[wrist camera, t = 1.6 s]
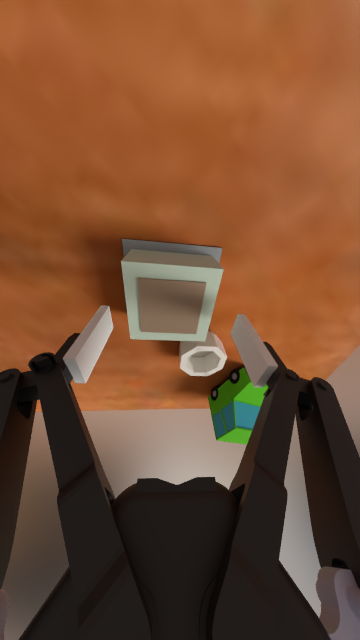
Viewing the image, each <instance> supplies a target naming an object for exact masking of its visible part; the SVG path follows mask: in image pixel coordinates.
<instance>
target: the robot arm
mask: <svg viewBox="0 0 360 640" xmlns="http://www.w3.org/2000/svg"><path fill="white" fill-rule="evenodd" d="M112 330H113V323H112V318H111V313H110V308H109V306H102V305H101V306H100V308H99V309H98V310H97V312H96V313H95V314H94V316H93V317H92V319H91V320H90V321H89V323H88V324H87V325H86V327H85V328H84V330H83V331H82V332H81V333H74V334H73V335H72V336H70V337H69V338H68V339H67V340H66V342H65V343H64V344H63V345H62V347H61V348H60V349H59V350H58V352H57V353H56V354H55V355H54V354H53V353H50V352H48V353H42V354H39V355H37V356H35V357H34V358H32V359H31V360H30V362H29V364H28V366H29V367H30V369H31V370H32V371H27V372H22V373H21V372H20V371H19V370H18V369H14V368H13V369H8V370H5V371H2V372H1V373H0V640H4V628H5V623H6V617H7V612H8V608H9V605H8V604H9V600H8V599H9V598H8V596H7V593H6V592H5V591H4V590H2V589H1V587H2V584H3V581H4V577H5V574H6V570H7V567H8V563H9V560H10V555H11V550H12V545H13V540H14V535H15V528H16V523H17V517H18V510H19V505H20V498H21V493H22V487H23V481H24V475H25V469H26V463H27V456H28V451H29V445H30V439H31V433H32V427H33V422H34V415H35V410H36V404H37V400H39V399H40V403H41V407H42V412H43V417H44V421H45V426H46V431H47V436H48V440H49V445H50V449H51V454H52V459H53V463H54V468H55V473H56V478H57V482H58V488H59V494H58V496H57V504H58V511H59V515H60V521H61V526H62V531H63V536H64V541H65V546H66V551H67V556H68V561H69V567H68V568H67V570H66V571H65V573H64V574H63V576H62V577H61V579H60V580H59V582H58V583H57V585H56V586H55V587H54V589H53V591H52V592H51V593H50V595H49V596H48V598H47V599H46V601H45V602H44V603H43V605H42V606H41V608H40V609H39V611H38V612H37V614H36V615H35V617H34V618H33V619H32V621H31V622H30V624H29V625H28V627H27V628H26V630H25V631H24V633H23V634H22V635H21V637H20V638H19V640H360V457H359V455H358V452H357V449H356V447H355V444H354V441H353V439H352V437H351V434H350V431H349V429H348V426H347V423H346V420H345V418H344V415H343V413H342V410H341V407H340V405H339V402H338V400H337V397H336V394H335V392H334V389H333V388H332V386H331V385H330V384H329V383H328V382H326V381H325V380H323V379H321V378H317V377H314V378H313V379H312V380H311V381H310V380H306V379H303V378H300V377H299V376H298V375H297V374H296V373H295V372H294V371H292V370H290V369H287V368H286V366H285V365H284V363H283V362H282V361H281V359H280V358H279V356H278V355H277V353H276V352H275V350H274V349H273V348H272V346H271V345H270V344H268V343H267V342H262V340H261V338H260V337H259V335H258V334H257V332H256V331H255V329H254V328H253V326H252V325H251V323H250V321H249V320H248V318H247V317H246V315H245V314H238V315H237V317H236V320H235V323H234V326H233V328H232V331H231V336H232V338H233V340H234V343H235V345H236V347H237V350H238V352H239V354H240V356H241V359H242V361H243V363H244V366H245V368H246V370H247V372H248V375H249V377H250V379H251V381H252V384H253V386H254V387H259V388H263V387H264V386H265V384H267V386H268V389H267V390H266V392H265V393H264V394H263V395H264V399H263V402H262V405H261V407H260V410H259V413H258V416H257V418H256V421H255V424H254V427H253V430H252V432H251V435H250V438H249V441H248V443H247V446H246V449H245V452H244V455H243V458H242V460H241V463H240V466H239V468H238V471H237V473H236V475H235V477H234V479H233V481H232V483H231V485H230V488H229V490H228V489H227V488H226V487H224V486H223V485H221V484H220V483H218V482H216V481H215V477H197V478H194V479H191V480H189V481H187V482H184V483H182V484H180V485H175V484H172V483H169V482H166V481H163V480H160V479H158V478H146V479H138V481H137V483H136V484H133V485H132V486H130V487H128V488H127V489H125V490H124V491H123V492H122V493H121V494H120V495H119V496H118V497H117V498H116V499H115V496H114V494H113V491H112V489H111V486H110V484H109V482H108V480H107V477H106V475H105V473H104V470H103V467H102V465H101V462H100V460H99V457H98V454H97V452H96V449H95V447H94V444H93V441H92V439H91V436H90V434H89V431H88V428H87V426H86V423H85V421H84V418H83V415H82V413H81V410H80V408H79V405H78V402H77V400H76V397H75V394H74V392H73V389H72V387H71V384H70V382H71V381H72V379H73V380H74V382H75V383H86V382H87V380H88V378H89V376H90V374H91V372H92V370H93V368H94V366H95V364H96V362H97V360H98V358H99V356H100V354H101V352H102V350H103V348H104V346H105V344H106V342H107V340H108V338H109V336H110V334H111V332H112ZM295 414H296V421H297V428H298V435H299V442H300V449H301V456H302V463H303V470H304V476H305V484H306V491H307V498H308V505H309V512H310V518H311V525H312V531H313V537H314V542H315V546H316V550H317V554H318V558H319V562H320V566H321V569H320V570H319V573H318V580H317V582H316V591H317V594H318V597H319V599H320V601H321V615H320V618H318V616H317V615H316V613H315V612H314V610H313V609H312V607H311V606H310V604H309V603H308V601H307V600H306V599H305V597H304V596H303V594H302V593H301V591H300V590H299V589H298V587H297V586H296V584H295V583H294V581H293V580H292V578H291V577H290V575H289V574H288V572H287V571H286V570H285V568H284V567H283V565H282V564H281V562H280V561H279V554H280V547H281V540H282V533H283V526H284V519H285V511H286V505H287V490H286V488H285V487H284V479H285V472H286V466H287V460H288V454H289V449H290V443H291V436H292V431H293V425H294V419H295Z"/></svg>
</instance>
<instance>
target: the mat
mask: <svg viewBox="0 0 360 640" xmlns="http://www.w3.org/2000/svg"><path fill="white" fill-rule="evenodd" d="M122 245H123V254H124V257H125V256H126V255H127V254H128V252H129V251H130V250H131V249H137V250H148V251H160V252H172V253H183V254H195V255H207V256H213V257H214V258H215V259H216V261H217V262H218V263H219V261H220V257H221V253H222V248H220V247H209V246H198V245H187V244H176V243H165V242H154V241H143V240H132V239H122Z"/></svg>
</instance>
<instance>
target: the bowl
mask: <svg viewBox="0 0 360 640" xmlns="http://www.w3.org/2000/svg"><path fill="white" fill-rule="evenodd" d="M179 347H180V348H179V363H180V368H181V369H182V370H183V371H185V372H186V373H188V374H189V375H190V376H209V375H211V374H213V373H215V372H217V371H219V370H221V369H223V366H224V364H225V361H226V359H227V355H226V352H225V349H224V347H223V344H222V342H221V341H220V339H219V338H218V336H217V335H216V334H215V333H213V332H211V331H208V332H207V336H206V340H205V342H202V341H180V345H179Z"/></svg>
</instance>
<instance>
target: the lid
mask: <svg viewBox="0 0 360 640" xmlns="http://www.w3.org/2000/svg"><path fill="white" fill-rule="evenodd" d="M121 266H122V274H123V282H124V290H125V298H126V306H127V314H128V322H129V331H130V339H144V340H173V341H202V342H205V340H206V336H207V332H208V328H209V324H210V320H211V317H212V313H213V309H214V305H215V301H216V297H217V293H218V289H219V285H220V281H221V277H222V273H223V268H222V267H221V265H220V264H219V263H218V262H217V261H216V259H215V258H214V257H213V256H207V255H195V254H183V253H172V252H160V251H148V250H137V249H131V250H130V251H129V252H128V254H127V255H126V256H125V257H124V258H123V259H122V260H121Z"/></svg>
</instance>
